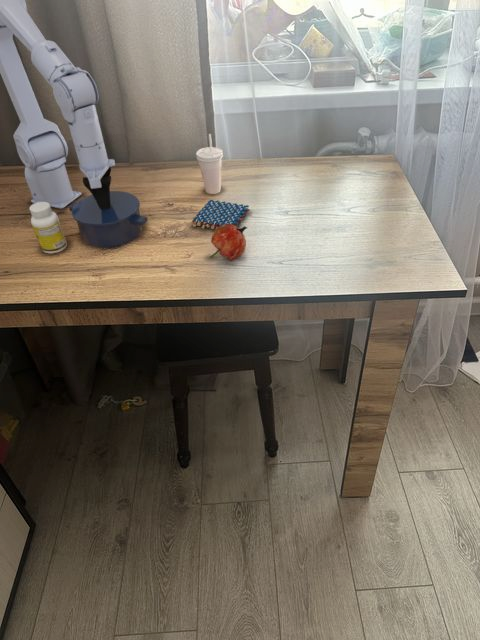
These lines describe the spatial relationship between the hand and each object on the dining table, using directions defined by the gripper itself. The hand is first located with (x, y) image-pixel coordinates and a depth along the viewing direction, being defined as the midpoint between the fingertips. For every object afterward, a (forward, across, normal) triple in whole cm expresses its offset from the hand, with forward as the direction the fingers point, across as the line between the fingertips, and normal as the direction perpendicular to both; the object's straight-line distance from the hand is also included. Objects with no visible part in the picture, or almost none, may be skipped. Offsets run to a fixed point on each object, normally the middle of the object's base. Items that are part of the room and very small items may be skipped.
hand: (105, 204), depth 109 cm
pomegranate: (+7, -17, -24) cm, 30 cm away
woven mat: (+7, -1, -25) cm, 26 cm away
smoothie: (+7, +13, -25) cm, 29 cm away
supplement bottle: (+7, -4, +12) cm, 14 cm away
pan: (+6, 0, 0) cm, 6 cm away
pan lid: (+1, 0, 0) cm, 1 cm away
